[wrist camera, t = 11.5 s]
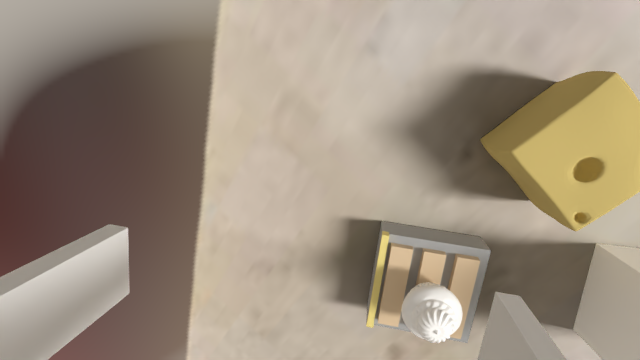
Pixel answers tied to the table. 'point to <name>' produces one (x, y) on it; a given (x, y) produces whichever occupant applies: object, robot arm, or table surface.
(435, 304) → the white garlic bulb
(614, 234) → the table surface
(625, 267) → the milk
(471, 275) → the dock
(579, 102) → the cheese
